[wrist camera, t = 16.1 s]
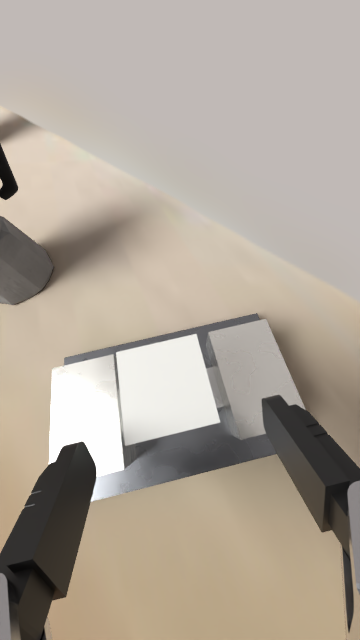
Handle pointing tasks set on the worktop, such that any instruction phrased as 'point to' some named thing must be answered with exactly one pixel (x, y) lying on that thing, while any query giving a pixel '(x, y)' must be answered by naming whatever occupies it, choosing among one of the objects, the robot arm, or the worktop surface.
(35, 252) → the coffeepot
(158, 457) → the rail panel
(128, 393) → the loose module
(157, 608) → the worktop surface
